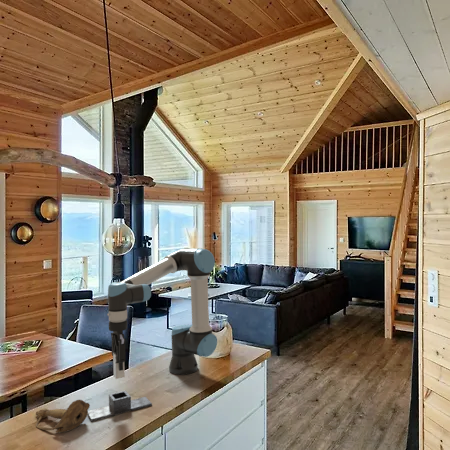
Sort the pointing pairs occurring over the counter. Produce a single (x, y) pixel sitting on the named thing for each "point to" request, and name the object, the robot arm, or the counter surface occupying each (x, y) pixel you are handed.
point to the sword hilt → (66, 416)
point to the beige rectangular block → (115, 364)
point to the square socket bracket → (118, 406)
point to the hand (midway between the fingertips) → (118, 375)
